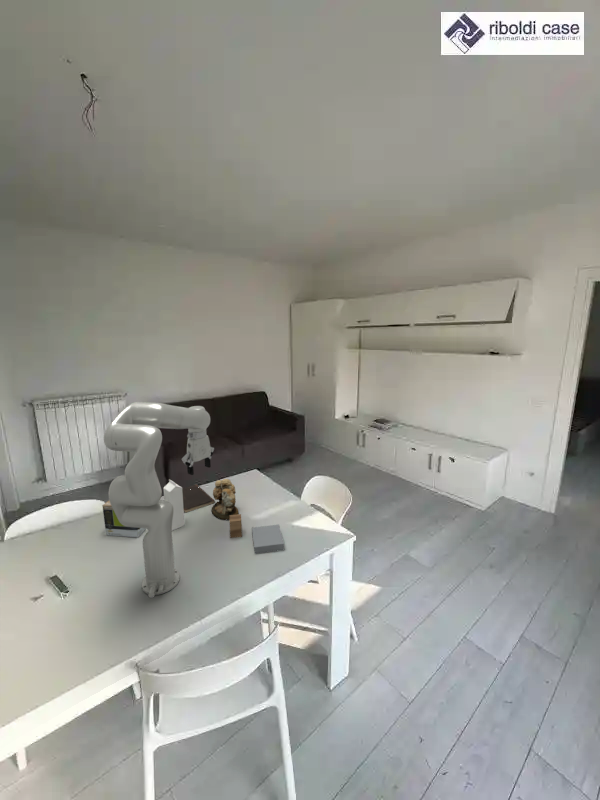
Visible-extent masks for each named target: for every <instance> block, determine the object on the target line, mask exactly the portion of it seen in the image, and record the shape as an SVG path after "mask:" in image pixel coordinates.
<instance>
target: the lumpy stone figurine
mask: <svg viewBox="0 0 600 800" xmlns="http://www.w3.org/2000/svg"><path fill="white" fill-rule="evenodd" d="M235 494H236V486H235V484H233V483H232V481H231V479H228V478H224V479H221V480H220V479H219V480H218V479H217V480H216V481H215V483H214V488H213V491H212V497H213V499H214V500H215V501H216V502H215V503H214V504H213V505H212V507H211V513H212V516H214V517H215V518H216V519H218V520H221V521H230V515H238V514H240V512H239V509H238V508H237V506H236V503H237V502H236V501H237V500H236V495H235Z"/></svg>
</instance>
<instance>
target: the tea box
mask: <svg viewBox="0 0 600 800" xmlns="http://www.w3.org/2000/svg"><path fill="white" fill-rule="evenodd" d="M101 506H102V512H103V513H102V514H103V521H104V529H105V530H104V531H105V535H106V536H112V537H114V536H116V537H128V538H139V537H140V536H141V535H142V534H143V533H144V532H145V531H146V530H147V529H146V528H137V527H127V526H124V525H122V524H121V523H120V522H119V520H118V518H117V516H116V514H115V512H114V510H113V508H112V506H111V503H110V501H109V500H107V501H106V502H104V504H102V505H101Z"/></svg>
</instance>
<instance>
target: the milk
mask: <svg viewBox="0 0 600 800" xmlns="http://www.w3.org/2000/svg"><path fill="white" fill-rule="evenodd" d="M168 481H169V482H168V483H167V484H165V485H164V487H163V500H166V501H168V502H170V503H171V504H172V506H173V520H172V532H173V531H175V530H177V529H180V528H182V527H184V526H185V524H186V523H185V513H184V508H183V492H182V488H183V487H182V486H180V485H179V484H177V483H176V482H175V481H173V480H171V479H170V478H169V479H168Z"/></svg>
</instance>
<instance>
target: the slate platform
mask: <svg viewBox="0 0 600 800" xmlns="http://www.w3.org/2000/svg"><path fill="white" fill-rule="evenodd" d="M251 535H252V536H251V537H252V546H253V552H254V555H257V554H262V553H264V554H265V553H271V552H272V551H273V552H278V551H277V550H281V551H284V550H285V542H284V539H283V535H282V531H281V528H280V524H272V525H271V524H270V525H263V526H262V525H261V526H255V527H254V526H253V527H251ZM283 549H284V550H283Z"/></svg>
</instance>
